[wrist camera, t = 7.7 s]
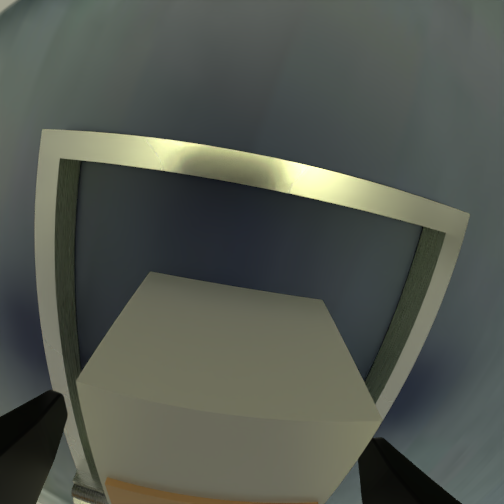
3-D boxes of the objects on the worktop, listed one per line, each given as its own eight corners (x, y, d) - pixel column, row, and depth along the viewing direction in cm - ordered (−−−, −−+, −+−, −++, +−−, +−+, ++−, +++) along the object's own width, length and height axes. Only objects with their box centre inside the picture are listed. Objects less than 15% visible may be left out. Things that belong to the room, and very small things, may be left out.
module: (321, 298, 9) (386, 428, 4) (270, 447, 11) (280, 556, 6) (151, 269, 9) (71, 388, 4) (147, 429, 11) (118, 537, 6)
